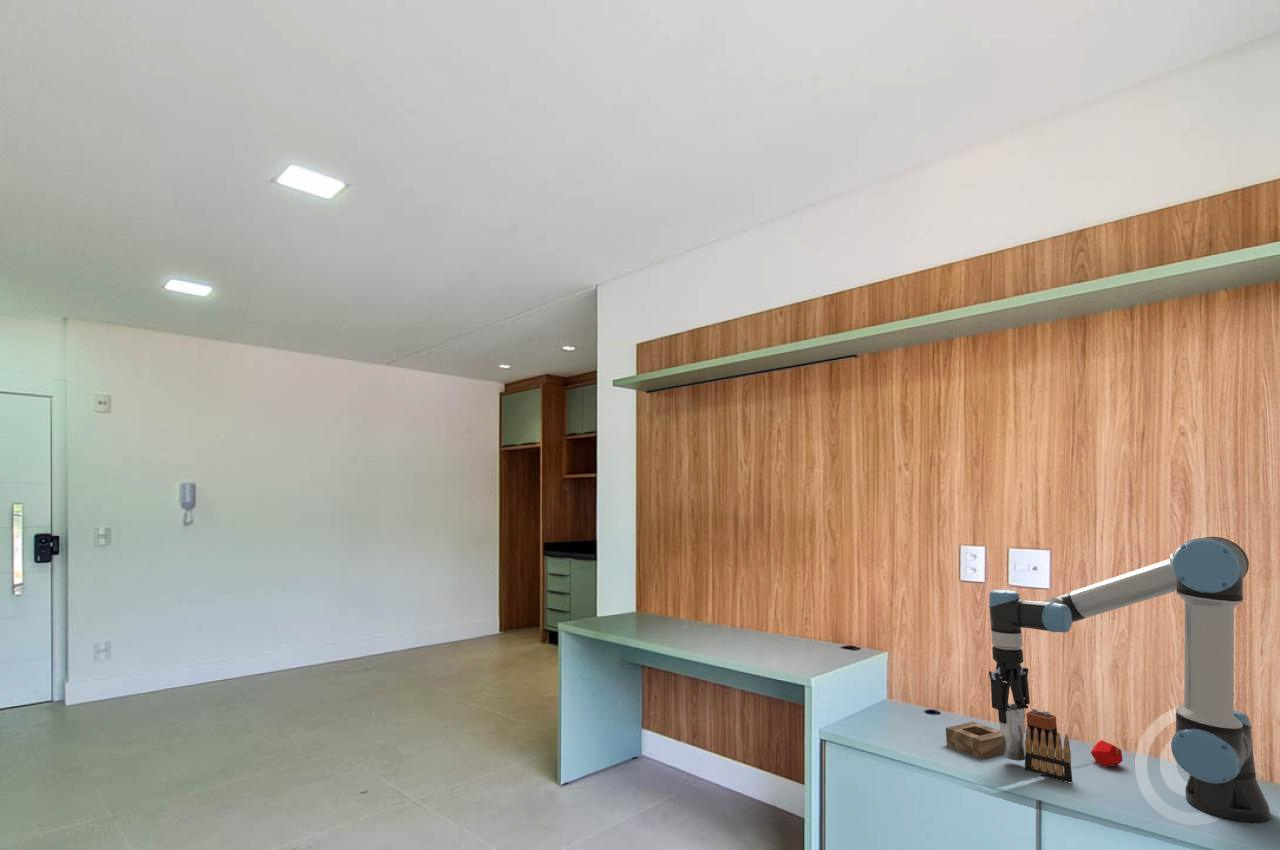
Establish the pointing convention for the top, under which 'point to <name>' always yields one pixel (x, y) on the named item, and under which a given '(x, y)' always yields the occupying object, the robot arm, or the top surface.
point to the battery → (1042, 724)
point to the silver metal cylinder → (1014, 735)
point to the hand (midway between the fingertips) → (1012, 733)
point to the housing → (975, 740)
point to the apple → (1106, 754)
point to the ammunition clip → (1048, 756)
